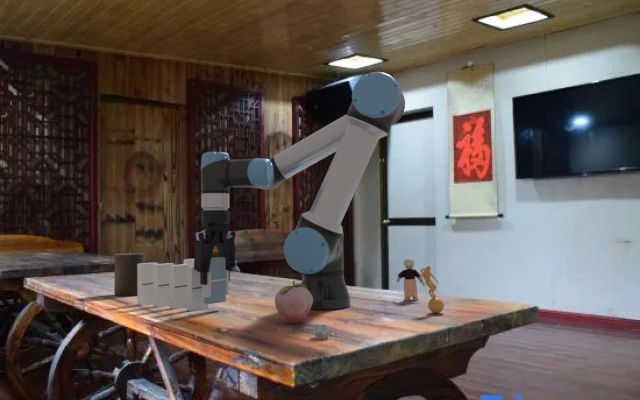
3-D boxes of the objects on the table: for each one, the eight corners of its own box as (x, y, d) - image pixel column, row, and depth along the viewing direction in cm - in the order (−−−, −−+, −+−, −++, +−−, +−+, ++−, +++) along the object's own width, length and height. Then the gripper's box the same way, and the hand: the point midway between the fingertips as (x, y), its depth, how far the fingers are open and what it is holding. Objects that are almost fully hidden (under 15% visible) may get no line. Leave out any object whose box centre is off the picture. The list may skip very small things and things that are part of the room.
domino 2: (174, 304, 168) (174, 263, 168) (157, 307, 163) (157, 264, 163) (169, 303, 169) (169, 263, 169) (153, 306, 164) (153, 264, 164)
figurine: (436, 316, 141) (435, 267, 142) (414, 314, 145) (413, 266, 145) (450, 311, 148) (449, 265, 148) (428, 309, 152) (427, 264, 152)
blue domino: (225, 301, 156) (225, 257, 156) (209, 304, 151) (209, 258, 151) (220, 300, 157) (220, 257, 158) (204, 303, 152) (204, 258, 153)
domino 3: (190, 306, 164) (190, 264, 164) (174, 309, 159) (174, 265, 159) (185, 305, 165) (185, 263, 165) (169, 308, 160) (169, 265, 160)
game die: (312, 336, 119) (311, 322, 119) (329, 336, 119) (329, 321, 119) (312, 340, 116) (312, 325, 116) (331, 339, 116) (330, 324, 116)
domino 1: (158, 302, 172) (158, 262, 172) (141, 305, 167) (141, 264, 167) (153, 302, 173) (153, 262, 173) (137, 304, 168) (137, 263, 168)
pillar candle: (139, 296, 187) (139, 250, 188) (109, 296, 187) (110, 250, 188) (148, 292, 197) (148, 249, 197) (120, 293, 197) (120, 249, 197)
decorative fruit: (289, 319, 140) (289, 278, 141) (318, 321, 136) (317, 279, 137) (267, 325, 132) (266, 281, 133) (296, 328, 128) (296, 283, 128)
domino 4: (208, 308, 160) (207, 264, 160) (192, 311, 155) (191, 266, 155) (203, 307, 161) (202, 264, 161) (187, 310, 156) (186, 266, 156)
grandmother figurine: (421, 298, 172) (420, 256, 172) (423, 300, 168) (423, 257, 168) (395, 299, 172) (394, 257, 172) (397, 301, 168) (397, 257, 168)
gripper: (229, 210, 165) (229, 290, 164) (178, 209, 149) (178, 298, 148) (249, 209, 161) (249, 292, 160) (199, 209, 145) (199, 300, 144)
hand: (215, 295), depth 154 cm, fingers closed on blue domino, 6 cm apart
